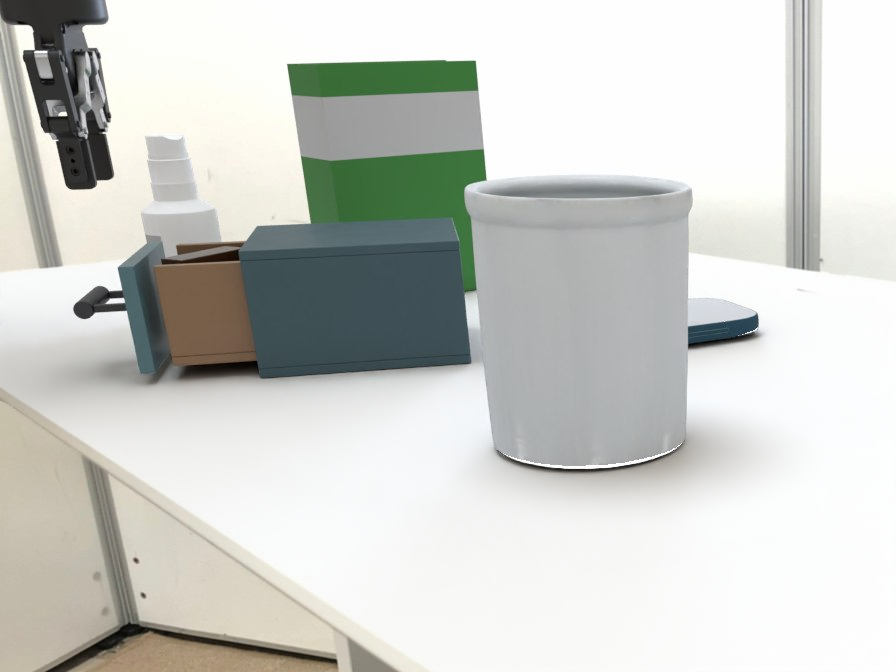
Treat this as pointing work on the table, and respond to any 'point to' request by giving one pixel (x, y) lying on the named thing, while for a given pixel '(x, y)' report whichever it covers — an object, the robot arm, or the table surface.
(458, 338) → the cabinet
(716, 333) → the external hard drive
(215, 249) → the walnut board
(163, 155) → the spray bottle
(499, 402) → the utensil holder
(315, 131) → the green cereal box
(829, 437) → the table surface
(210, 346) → the drawer
